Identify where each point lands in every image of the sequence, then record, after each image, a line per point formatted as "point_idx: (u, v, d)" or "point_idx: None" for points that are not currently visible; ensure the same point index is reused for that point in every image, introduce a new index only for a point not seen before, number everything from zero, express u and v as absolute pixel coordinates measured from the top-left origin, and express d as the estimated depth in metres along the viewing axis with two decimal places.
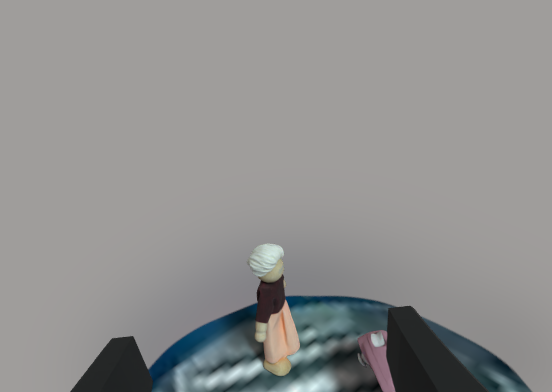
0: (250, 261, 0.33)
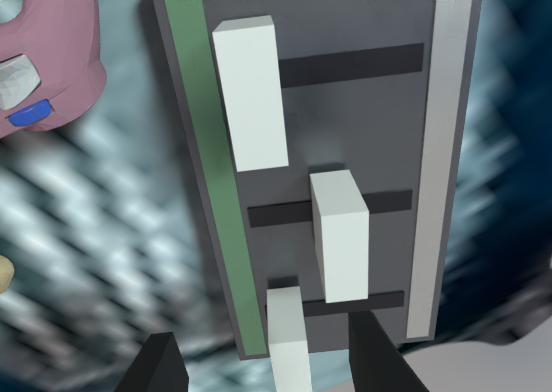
0: None
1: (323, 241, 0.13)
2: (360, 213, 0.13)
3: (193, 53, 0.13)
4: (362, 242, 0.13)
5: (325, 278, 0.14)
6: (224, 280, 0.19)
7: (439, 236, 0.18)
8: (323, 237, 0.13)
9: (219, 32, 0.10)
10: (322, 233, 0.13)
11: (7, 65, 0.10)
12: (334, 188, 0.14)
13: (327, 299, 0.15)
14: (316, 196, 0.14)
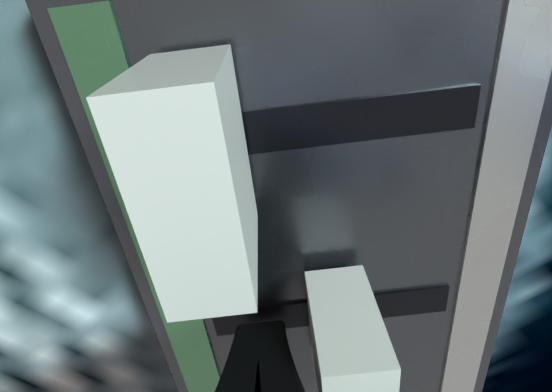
0: None
1: None
2: (386, 370, 0.08)
3: None
4: None
5: None
6: None
7: (483, 341, 0.13)
8: None
9: (101, 97, 0.05)
10: None
11: None
12: (342, 307, 0.09)
13: None
14: (314, 324, 0.09)
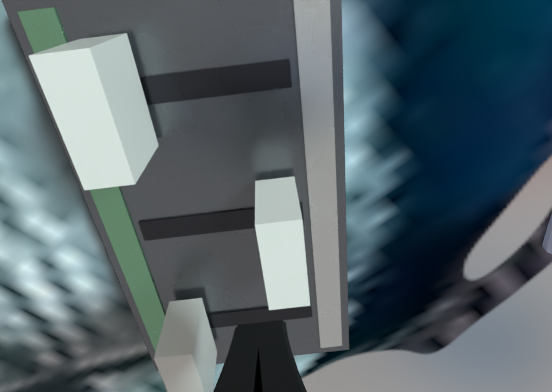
0: None
1: (259, 249, 0.13)
2: (294, 221, 0.13)
3: None
4: (299, 250, 0.13)
5: (265, 286, 0.14)
6: (127, 292, 0.19)
7: (337, 248, 0.18)
8: (259, 245, 0.13)
9: (35, 55, 0.10)
10: (258, 241, 0.13)
11: None
12: (275, 195, 0.14)
13: (269, 306, 0.15)
14: (255, 204, 0.14)
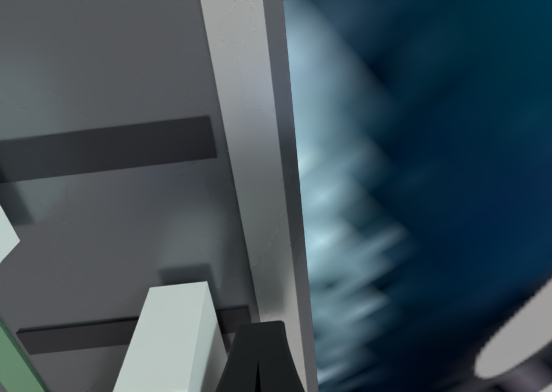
0: None
1: None
2: (177, 390, 0.08)
3: None
4: None
5: None
6: None
7: (302, 360, 0.13)
8: None
9: None
10: None
11: None
12: (166, 325, 0.09)
13: None
14: (132, 342, 0.09)
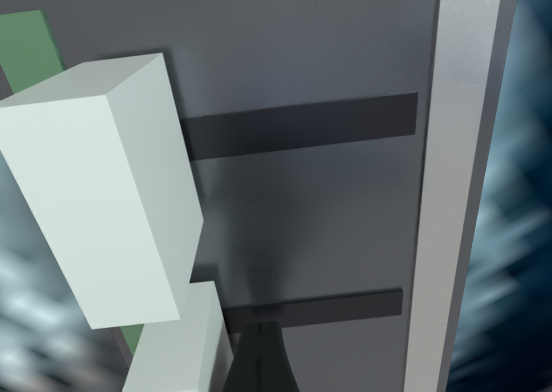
0: None
1: None
2: (186, 390, 0.08)
3: None
4: None
5: None
6: None
7: (441, 345, 0.13)
8: None
9: None
10: None
11: None
12: (174, 324, 0.09)
13: None
14: (140, 341, 0.09)
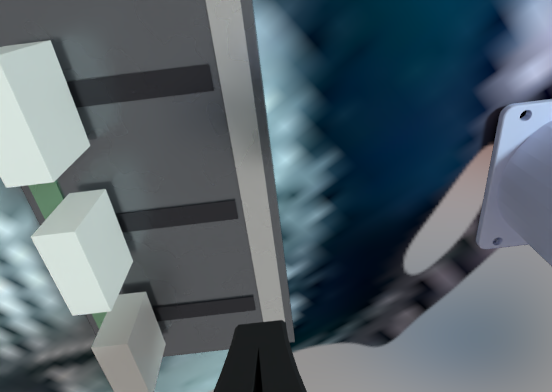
0: None
1: (43, 259, 0.14)
2: (69, 233, 0.14)
3: None
4: (82, 260, 0.14)
5: (62, 293, 0.15)
6: None
7: (273, 243, 0.19)
8: (42, 255, 0.14)
9: None
10: (40, 252, 0.14)
11: None
12: (72, 208, 0.15)
13: (72, 312, 0.15)
14: (50, 216, 0.15)
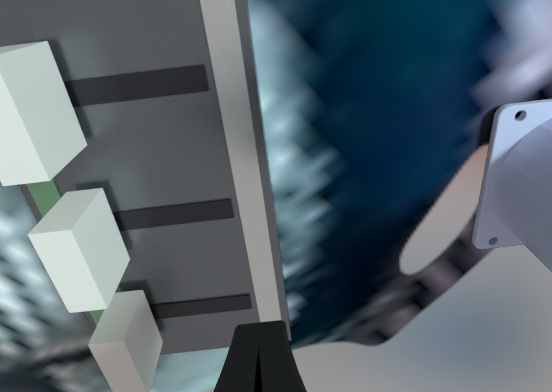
0: None
1: (40, 257, 0.14)
2: (65, 231, 0.14)
3: None
4: (78, 257, 0.14)
5: (58, 290, 0.15)
6: None
7: (268, 242, 0.19)
8: (39, 253, 0.14)
9: None
10: (37, 249, 0.14)
11: None
12: (69, 206, 0.15)
13: (68, 309, 0.16)
14: (47, 214, 0.15)
